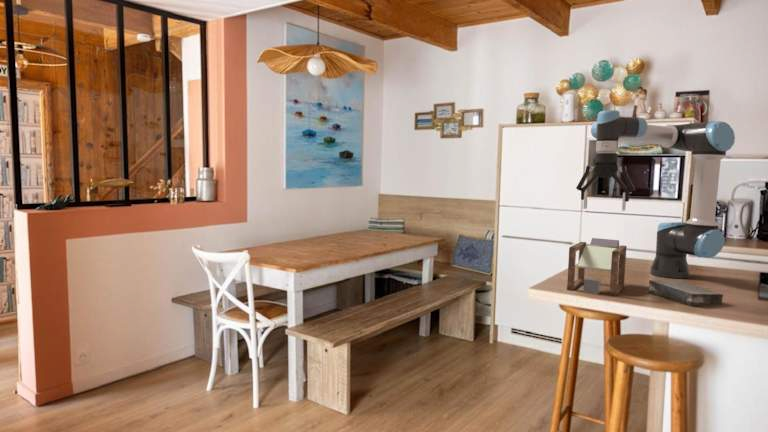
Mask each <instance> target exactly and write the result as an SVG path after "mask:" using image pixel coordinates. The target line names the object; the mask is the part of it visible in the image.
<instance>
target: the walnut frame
mask: <svg viewBox="0 0 768 432" xmlns="http://www.w3.org/2000/svg"><path fill="white" fill-rule="evenodd" d="M586 244H587V242H586V241H579V242H578V243H575V244H573V245H572V246H569V248H568V249H569V250H568V267H567V268H568V269H567V283H566V284H567V285H566V286H567V287H566V290H567V291H574V290H575V289H577V288H578V287H579V286H581V285H582V284H584V279H585V272H586V271H585V269H586V268H578V267H577V268H578V271H577V272H578V273H577V279H575V277H576V276H575V275H576V274H575V273H576V257H577V255H576V254H577V252H578V251H579V252H578V253H579V254H578V262H579V261H580V258H581V255H582V253H583V250H584V248H585V245H586ZM626 260H627V245H622V244H621V245H619V247H618V248H617V249H615V250H614V251H612V262H611V271H610V281H609V296H610V297H617V295H618V294H619V293H620V292H621V290H623V288H625V277H626V276H625V275H626V262H627V261H626Z"/></svg>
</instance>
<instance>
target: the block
mask: <svg viewBox="0 0 768 432" xmlns="http://www.w3.org/2000/svg"><path fill="white" fill-rule="evenodd" d="M648 284H649V285H648V286H649V287H648V294H650V295H653V296H657V297H659V298H663V299H666V300H669V301H672V302H676V303H678V304H681V305H684V306H687V307H702V306H703V307H704V306H715V305H716V306H718V305H719V304H720V305H722V303H723V298H724V293H720V292H716V291H713V290H708V289H706V288H703V287H699V286H696V285H693V284H689V283H686V282H683V281H680V280H679V281H678V280H657V279H656V280H654V279H651V280H648Z"/></svg>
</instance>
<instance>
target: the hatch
mask: <svg viewBox="0 0 768 432" xmlns="http://www.w3.org/2000/svg"><path fill="white" fill-rule="evenodd" d="M619 246H620V239H608V238H597V237H596V238H595V237H592V238H591V241H590V243H586V245H585V248H584V250H583V253H582V255H581V258H580V261H579V260H578V264H577V268H585V269H588V270H596V271H604V272H605V271H606V272H611V262H612V251H614V250H615V249H617V248H618V247H619Z"/></svg>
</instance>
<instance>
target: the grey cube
mask: <svg viewBox="0 0 768 432" xmlns="http://www.w3.org/2000/svg"><path fill="white" fill-rule="evenodd" d="M601 286H602V278H599V277H598V278H597V277H591V276H586V277H584V282H583V293H586V294H591V295H599V294H600V293H601V291H602V290H601Z"/></svg>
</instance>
